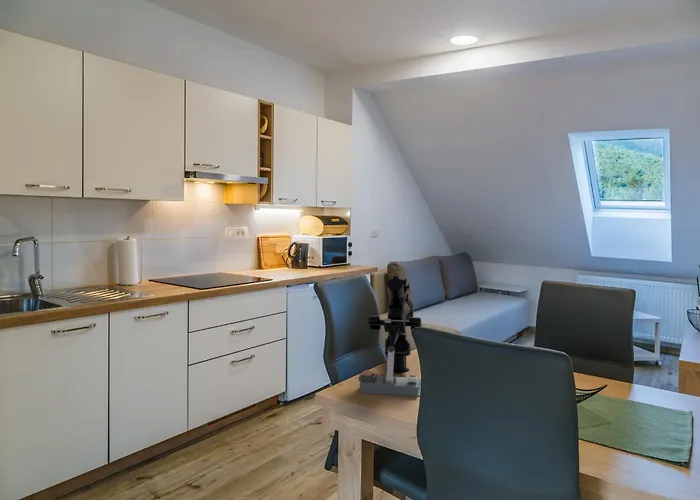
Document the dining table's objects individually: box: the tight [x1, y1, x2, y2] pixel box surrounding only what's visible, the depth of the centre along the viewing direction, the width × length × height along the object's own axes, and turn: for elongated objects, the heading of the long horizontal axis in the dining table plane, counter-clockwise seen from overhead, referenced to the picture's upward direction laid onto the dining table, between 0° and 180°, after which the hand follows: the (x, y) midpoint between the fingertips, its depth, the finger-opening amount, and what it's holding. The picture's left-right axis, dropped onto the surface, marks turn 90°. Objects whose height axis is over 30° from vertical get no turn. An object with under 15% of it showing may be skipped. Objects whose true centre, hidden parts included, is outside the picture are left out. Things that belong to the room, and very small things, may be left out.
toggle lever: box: [386, 346, 395, 381], centre depth 171 cm, size 2×2×12 cm
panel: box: [358, 372, 421, 397], centre depth 171 cm, size 9×20×5 cm, turn 78°
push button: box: [362, 369, 374, 377], centre depth 172 cm, size 3×3×2 cm
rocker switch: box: [407, 374, 418, 382], centre depth 169 cm, size 4×3×2 cm, turn 168°
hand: (392, 344), depth 177 cm, fingers closed
